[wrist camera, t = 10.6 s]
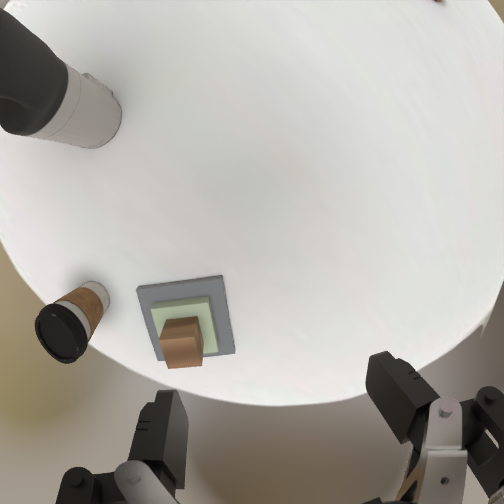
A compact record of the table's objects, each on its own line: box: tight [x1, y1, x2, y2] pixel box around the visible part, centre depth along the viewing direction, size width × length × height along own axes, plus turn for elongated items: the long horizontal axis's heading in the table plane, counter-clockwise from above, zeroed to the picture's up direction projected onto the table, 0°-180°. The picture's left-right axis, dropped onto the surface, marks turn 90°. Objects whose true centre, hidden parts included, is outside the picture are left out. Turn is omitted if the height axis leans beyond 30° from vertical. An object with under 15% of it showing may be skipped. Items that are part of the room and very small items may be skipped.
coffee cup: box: [35, 281, 109, 364], centre depth 35 cm, size 8×8×15 cm
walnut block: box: [159, 316, 204, 369], centre depth 38 cm, size 5×5×6 cm
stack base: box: [136, 275, 235, 361], centre depth 42 cm, size 14×14×4 cm
